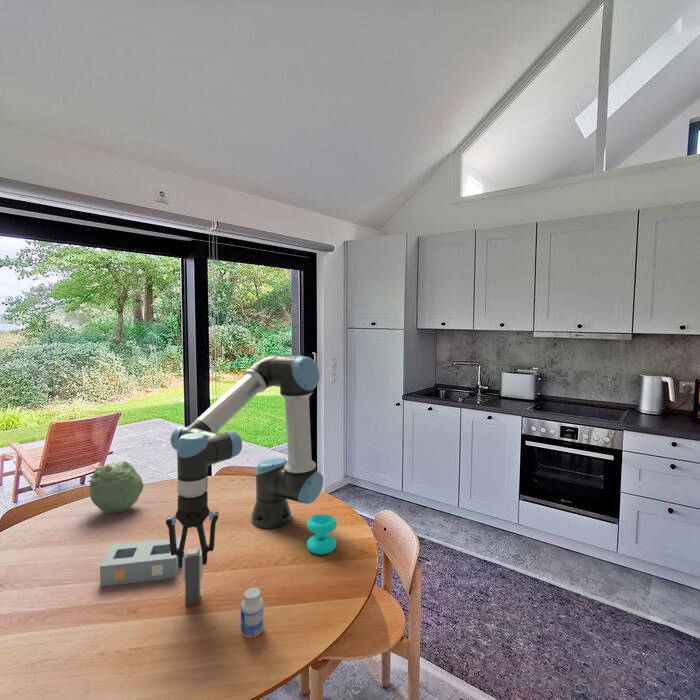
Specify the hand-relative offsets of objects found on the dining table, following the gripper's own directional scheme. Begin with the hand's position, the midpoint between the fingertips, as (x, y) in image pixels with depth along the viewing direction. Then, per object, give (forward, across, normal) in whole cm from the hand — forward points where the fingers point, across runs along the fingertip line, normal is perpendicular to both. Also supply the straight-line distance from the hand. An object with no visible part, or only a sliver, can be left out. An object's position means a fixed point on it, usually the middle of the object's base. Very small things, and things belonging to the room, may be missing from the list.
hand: (192, 576), depth 114 cm
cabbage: (+7, +35, -63) cm, 73 cm away
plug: (+7, 0, 0) cm, 7 cm away
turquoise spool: (+7, -39, -19) cm, 44 cm away
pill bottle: (+7, -15, +15) cm, 23 cm away
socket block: (+7, +16, -18) cm, 25 cm away
